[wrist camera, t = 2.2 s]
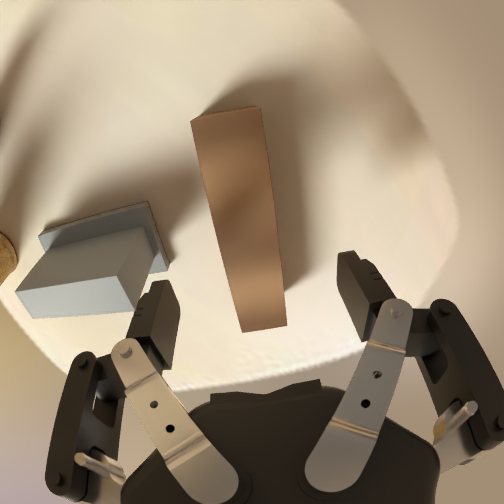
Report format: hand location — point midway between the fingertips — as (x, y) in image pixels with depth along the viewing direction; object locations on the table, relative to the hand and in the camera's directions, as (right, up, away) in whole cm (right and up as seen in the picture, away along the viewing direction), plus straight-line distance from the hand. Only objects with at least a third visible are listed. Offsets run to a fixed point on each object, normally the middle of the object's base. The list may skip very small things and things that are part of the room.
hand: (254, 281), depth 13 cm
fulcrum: (-11, +2, +5) cm, 13 cm away
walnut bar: (0, +4, +5) cm, 6 cm away
